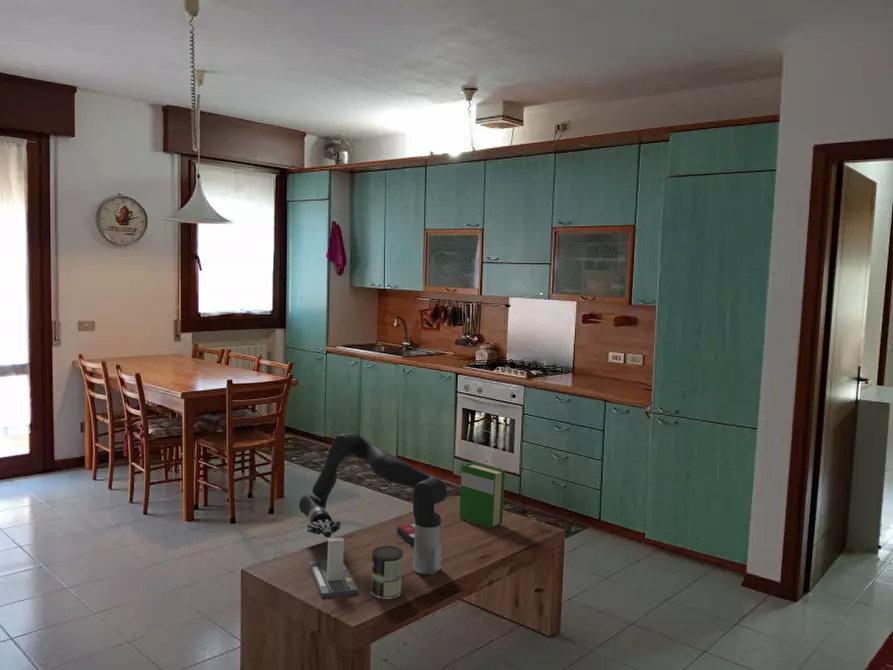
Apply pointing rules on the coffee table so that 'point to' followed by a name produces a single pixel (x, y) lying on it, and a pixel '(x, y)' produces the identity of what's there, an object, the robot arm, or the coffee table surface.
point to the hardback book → (482, 494)
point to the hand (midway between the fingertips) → (328, 534)
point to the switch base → (332, 587)
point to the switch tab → (335, 559)
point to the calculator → (407, 533)
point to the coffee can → (386, 572)
